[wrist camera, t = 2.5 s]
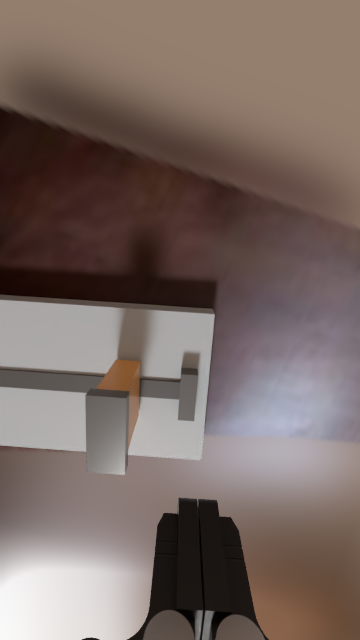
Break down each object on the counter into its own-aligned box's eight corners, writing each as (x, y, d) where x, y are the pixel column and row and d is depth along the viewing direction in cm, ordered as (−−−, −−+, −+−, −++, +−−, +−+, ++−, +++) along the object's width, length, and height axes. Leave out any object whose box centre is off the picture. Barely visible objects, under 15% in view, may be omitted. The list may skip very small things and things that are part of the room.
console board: (212, 308, 22) (216, 318, 19) (200, 444, 25) (202, 471, 22) (-93, 288, 23) (-138, 294, 19) (-72, 424, 25) (-109, 448, 22)
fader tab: (143, 358, 21) (126, 398, 15) (141, 417, 22) (124, 474, 16) (113, 356, 21) (85, 395, 15) (112, 415, 22) (86, 472, 16)
